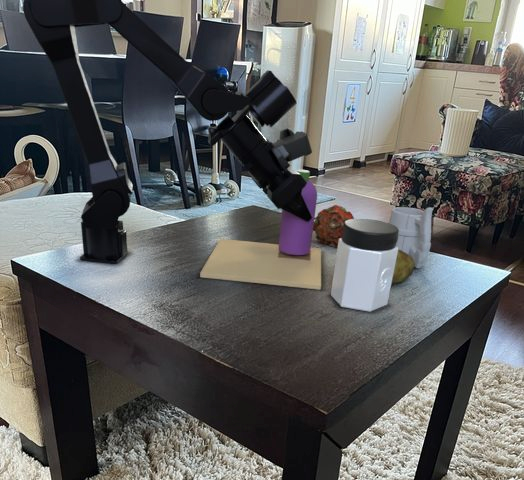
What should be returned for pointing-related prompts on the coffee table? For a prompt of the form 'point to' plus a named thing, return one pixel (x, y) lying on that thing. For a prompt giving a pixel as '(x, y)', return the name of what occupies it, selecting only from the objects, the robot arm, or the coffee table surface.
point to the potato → (402, 267)
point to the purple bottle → (299, 223)
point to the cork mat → (263, 265)
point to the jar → (365, 264)
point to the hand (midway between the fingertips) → (305, 215)
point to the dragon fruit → (331, 224)
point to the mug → (413, 232)
